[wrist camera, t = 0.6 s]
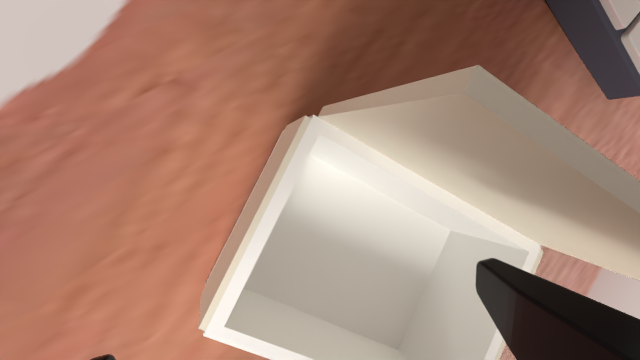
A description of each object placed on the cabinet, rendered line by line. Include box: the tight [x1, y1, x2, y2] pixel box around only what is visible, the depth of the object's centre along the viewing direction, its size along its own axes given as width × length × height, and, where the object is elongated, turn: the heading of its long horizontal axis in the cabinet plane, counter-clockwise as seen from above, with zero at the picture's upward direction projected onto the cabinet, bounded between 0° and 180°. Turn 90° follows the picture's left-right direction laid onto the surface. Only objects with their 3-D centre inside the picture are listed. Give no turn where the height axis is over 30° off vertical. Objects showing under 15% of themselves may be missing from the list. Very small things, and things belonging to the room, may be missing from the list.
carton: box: [198, 115, 544, 360], centre depth 20 cm, size 10×15×7 cm
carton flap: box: [318, 65, 640, 281], centre depth 12 cm, size 10×14×1 cm
